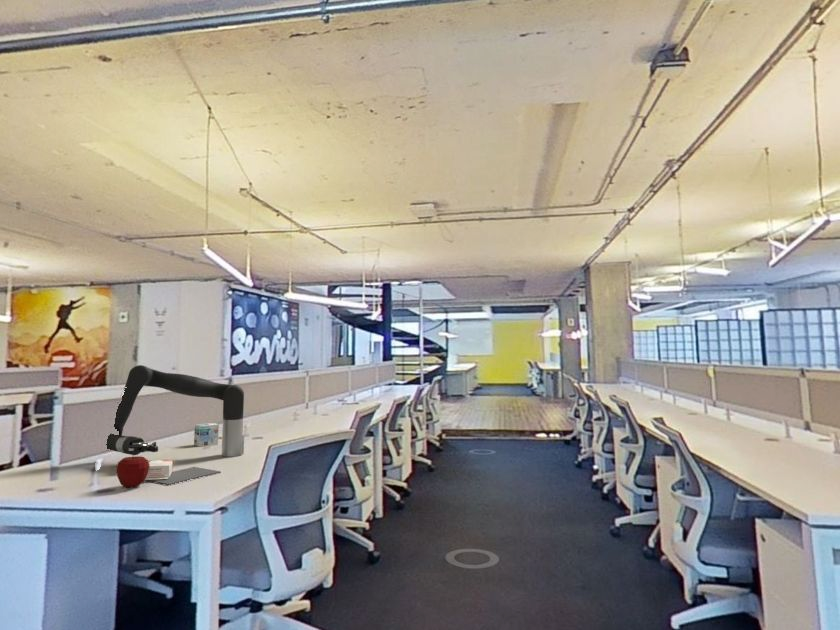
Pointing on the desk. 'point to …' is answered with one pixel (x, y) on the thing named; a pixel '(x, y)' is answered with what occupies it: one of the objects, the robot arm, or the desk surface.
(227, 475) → the desk surface
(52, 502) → the desk surface
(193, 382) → the robot arm
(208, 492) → the desk surface
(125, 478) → the apple
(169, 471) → the ink cartridge box
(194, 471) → the rubber mat
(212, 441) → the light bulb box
